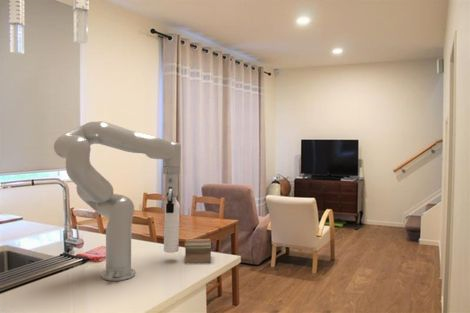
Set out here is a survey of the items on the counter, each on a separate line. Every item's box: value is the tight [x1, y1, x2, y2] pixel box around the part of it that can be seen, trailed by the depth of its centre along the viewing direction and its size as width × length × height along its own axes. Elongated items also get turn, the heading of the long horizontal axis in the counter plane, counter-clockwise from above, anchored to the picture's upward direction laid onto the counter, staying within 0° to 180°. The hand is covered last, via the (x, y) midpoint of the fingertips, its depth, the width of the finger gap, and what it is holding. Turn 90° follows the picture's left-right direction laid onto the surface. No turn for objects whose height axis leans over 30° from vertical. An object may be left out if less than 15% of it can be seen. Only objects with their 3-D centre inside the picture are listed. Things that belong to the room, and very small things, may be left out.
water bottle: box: [161, 194, 181, 254], centre depth 167 cm, size 9×6×25 cm
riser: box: [184, 238, 212, 264], centre depth 172 cm, size 11×11×8 cm
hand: (170, 211), depth 167 cm, fingers closed on water bottle, 6 cm apart
